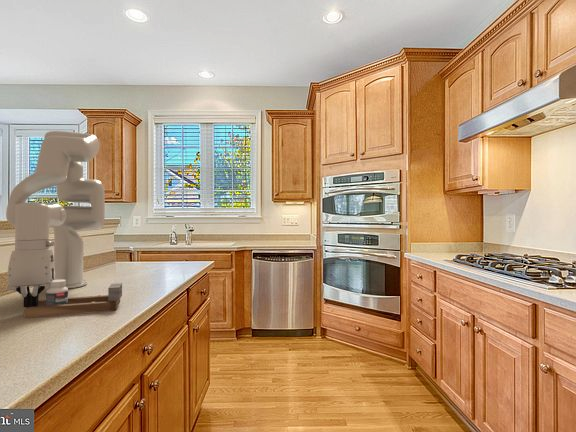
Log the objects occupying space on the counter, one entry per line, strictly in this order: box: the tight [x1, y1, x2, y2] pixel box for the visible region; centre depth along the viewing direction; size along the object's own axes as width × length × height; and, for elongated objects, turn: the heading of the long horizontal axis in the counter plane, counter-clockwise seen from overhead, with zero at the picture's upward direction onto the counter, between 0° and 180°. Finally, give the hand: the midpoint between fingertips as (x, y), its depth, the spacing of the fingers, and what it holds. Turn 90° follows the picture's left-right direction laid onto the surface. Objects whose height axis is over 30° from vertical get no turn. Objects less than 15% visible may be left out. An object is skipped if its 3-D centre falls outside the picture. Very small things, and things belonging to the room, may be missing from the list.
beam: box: [24, 282, 123, 319], centre depth 94 cm, size 10×23×6 cm, turn 111°
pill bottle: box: [45, 280, 69, 306], centre depth 92 cm, size 5×5×9 cm
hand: (31, 309), depth 89 cm, fingers closed
